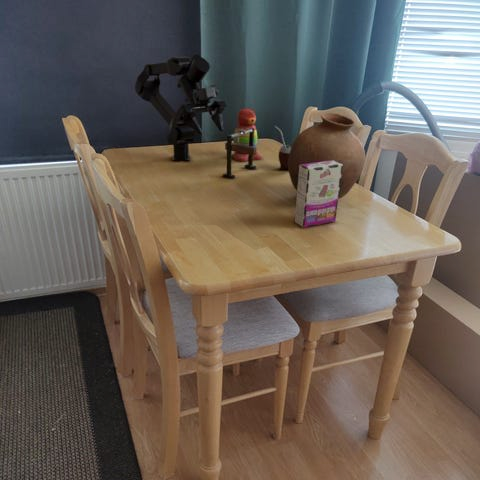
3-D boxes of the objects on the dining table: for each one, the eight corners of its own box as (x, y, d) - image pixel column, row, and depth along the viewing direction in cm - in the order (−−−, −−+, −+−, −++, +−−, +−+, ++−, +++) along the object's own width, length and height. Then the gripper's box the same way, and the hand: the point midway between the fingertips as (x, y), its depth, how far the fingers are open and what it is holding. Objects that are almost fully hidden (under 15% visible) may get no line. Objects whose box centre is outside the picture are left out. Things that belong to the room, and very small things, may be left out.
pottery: (283, 185, 163) (290, 105, 149) (351, 188, 162) (364, 108, 148) (286, 209, 144) (294, 121, 130) (363, 212, 144) (380, 124, 130)
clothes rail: (222, 176, 168) (223, 134, 160) (246, 166, 179) (248, 127, 171) (232, 179, 166) (233, 136, 158) (255, 168, 177) (257, 128, 169)
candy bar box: (325, 216, 140) (333, 159, 131) (335, 222, 136) (344, 164, 127) (293, 222, 136) (298, 163, 127) (302, 228, 132) (309, 168, 123)
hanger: (225, 149, 171) (225, 127, 166) (228, 148, 172) (228, 126, 168) (253, 155, 165) (254, 132, 161) (256, 154, 167) (257, 131, 162)
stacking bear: (239, 162, 184) (241, 112, 174) (227, 155, 191) (228, 107, 181) (263, 159, 188) (266, 110, 178) (250, 152, 196) (252, 105, 186)
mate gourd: (300, 170, 178) (304, 127, 169) (283, 173, 174) (287, 129, 165) (287, 165, 183) (291, 123, 174) (271, 168, 179) (274, 125, 170)
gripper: (180, 77, 154) (200, 121, 154) (224, 74, 164) (243, 115, 164) (166, 99, 163) (186, 140, 163) (209, 94, 174) (227, 133, 174)
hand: (211, 132), depth 166 cm, fingers open, 9 cm apart
